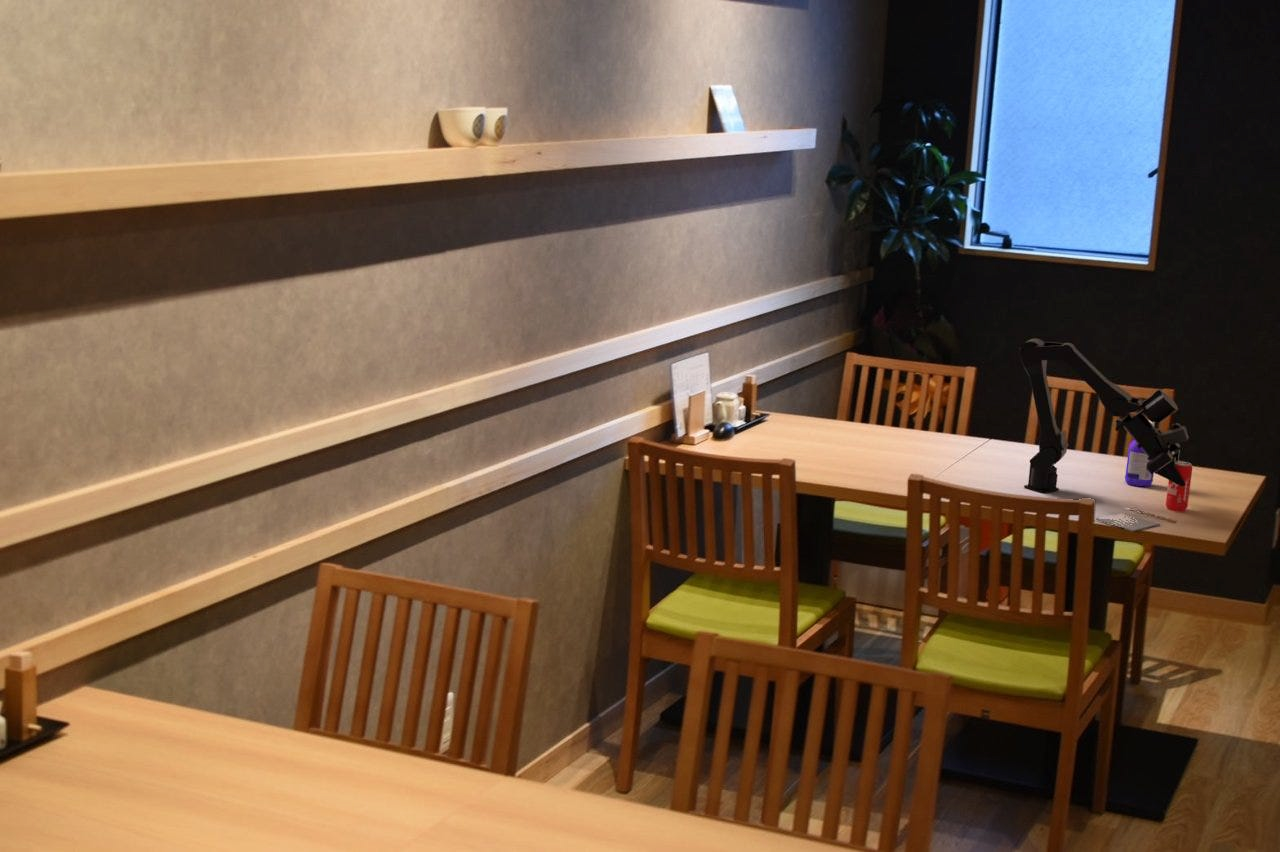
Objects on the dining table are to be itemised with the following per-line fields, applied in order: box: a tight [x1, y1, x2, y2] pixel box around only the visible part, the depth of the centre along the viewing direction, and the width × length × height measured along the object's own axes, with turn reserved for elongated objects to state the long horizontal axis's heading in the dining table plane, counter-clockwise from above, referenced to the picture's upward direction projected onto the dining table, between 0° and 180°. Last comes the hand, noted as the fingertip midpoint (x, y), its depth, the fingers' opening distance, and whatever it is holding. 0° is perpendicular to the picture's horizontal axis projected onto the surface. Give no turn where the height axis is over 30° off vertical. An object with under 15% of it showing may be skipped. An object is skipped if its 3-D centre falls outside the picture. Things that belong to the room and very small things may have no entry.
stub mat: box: [1095, 513, 1161, 533], centre depth 369 cm, size 11×11×1 cm
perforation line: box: [1128, 506, 1177, 524], centre depth 376 cm, size 14×1×1 cm, turn 38°
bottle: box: [1124, 419, 1156, 488], centre depth 404 cm, size 7×6×17 cm
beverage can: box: [1165, 460, 1193, 513], centre depth 382 cm, size 5×5×12 cm
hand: (1185, 483), depth 381 cm, fingers closed on beverage can, 5 cm apart
